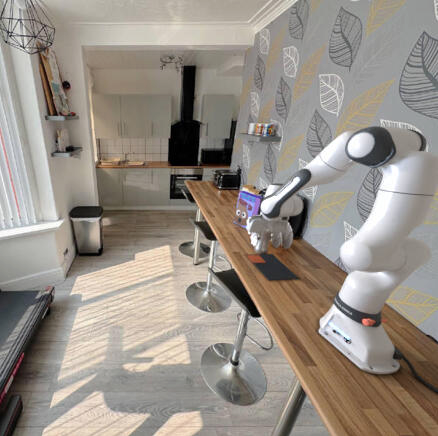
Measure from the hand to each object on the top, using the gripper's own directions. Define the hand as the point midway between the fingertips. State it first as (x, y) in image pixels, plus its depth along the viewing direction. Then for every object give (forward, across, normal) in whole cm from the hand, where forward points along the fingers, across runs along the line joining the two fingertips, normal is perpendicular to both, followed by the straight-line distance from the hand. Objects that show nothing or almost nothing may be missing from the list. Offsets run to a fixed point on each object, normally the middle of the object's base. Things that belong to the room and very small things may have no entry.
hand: (263, 239), depth 122 cm
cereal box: (+13, +15, +42) cm, 47 cm away
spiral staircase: (+13, +15, +15) cm, 25 cm away
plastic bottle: (+9, 0, 0) cm, 9 cm away
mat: (+13, +4, -6) cm, 15 cm away
